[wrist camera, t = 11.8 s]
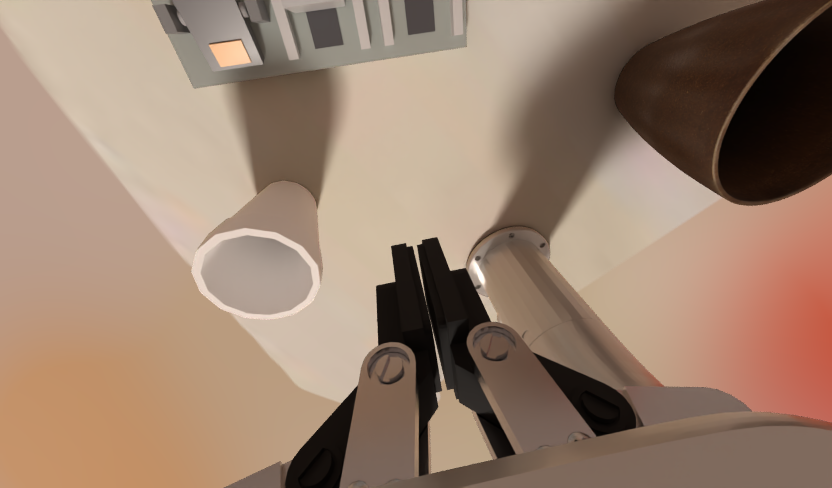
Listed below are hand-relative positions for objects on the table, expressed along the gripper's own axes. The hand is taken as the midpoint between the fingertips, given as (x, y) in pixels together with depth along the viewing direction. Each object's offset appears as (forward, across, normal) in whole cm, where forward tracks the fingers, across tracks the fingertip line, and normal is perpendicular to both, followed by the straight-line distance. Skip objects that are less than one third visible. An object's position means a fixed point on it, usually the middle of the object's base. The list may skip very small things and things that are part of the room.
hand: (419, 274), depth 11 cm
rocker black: (+21, +11, -11) cm, 26 cm away
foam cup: (+25, +13, +6) cm, 29 cm away
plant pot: (+26, -30, 0) cm, 39 cm away
